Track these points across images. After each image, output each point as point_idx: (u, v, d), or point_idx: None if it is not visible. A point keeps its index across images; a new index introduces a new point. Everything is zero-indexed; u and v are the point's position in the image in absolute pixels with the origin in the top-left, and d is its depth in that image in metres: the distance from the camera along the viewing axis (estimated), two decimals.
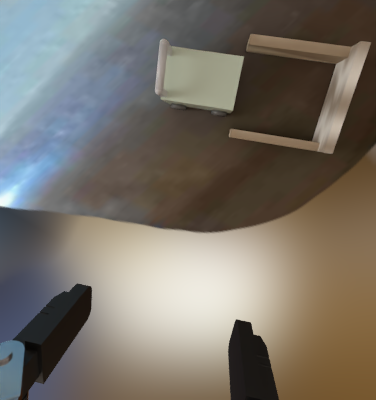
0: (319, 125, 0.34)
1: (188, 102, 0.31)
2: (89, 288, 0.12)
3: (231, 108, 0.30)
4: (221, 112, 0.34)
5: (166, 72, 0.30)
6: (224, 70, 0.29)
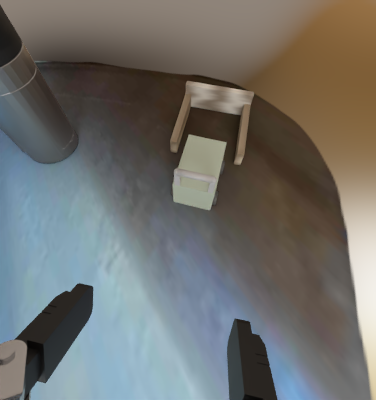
0: (230, 109, 0.47)
1: (218, 172, 0.34)
2: (90, 288, 0.12)
3: (225, 143, 0.37)
4: (222, 161, 0.39)
5: (193, 186, 0.33)
6: (196, 146, 0.37)
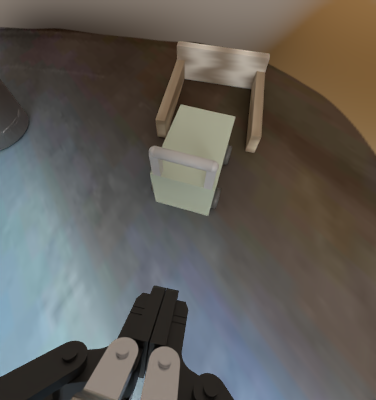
0: (237, 81, 0.36)
1: (222, 158, 0.22)
2: (165, 289, 0.13)
3: (233, 117, 0.25)
4: (229, 146, 0.28)
5: (181, 178, 0.21)
6: (190, 120, 0.25)
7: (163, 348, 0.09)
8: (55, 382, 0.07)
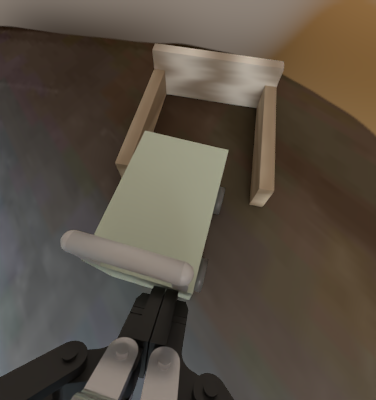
0: (237, 98, 0.26)
1: (207, 227, 0.14)
2: (165, 289, 0.13)
3: (225, 152, 0.16)
4: (220, 190, 0.19)
5: None
6: (158, 157, 0.16)
7: (163, 348, 0.09)
8: (55, 382, 0.07)
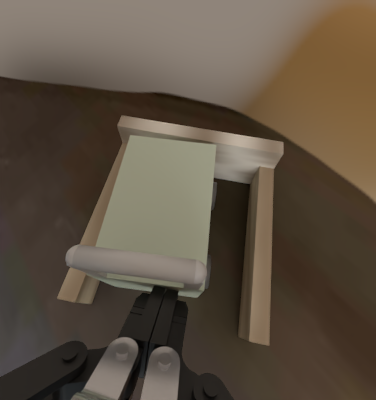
0: (226, 174, 0.21)
1: (207, 222, 0.14)
2: (165, 290, 0.13)
3: (213, 147, 0.16)
4: None
5: None
6: (148, 160, 0.16)
7: (163, 348, 0.09)
8: (55, 382, 0.07)
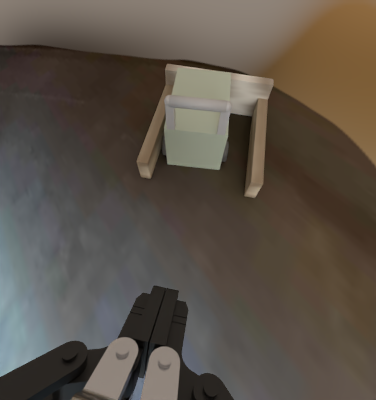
0: (235, 108, 0.31)
1: None
2: (165, 289, 0.13)
3: (229, 73, 0.27)
4: None
5: (194, 129, 0.22)
6: (190, 80, 0.26)
7: (163, 348, 0.09)
8: (55, 382, 0.07)
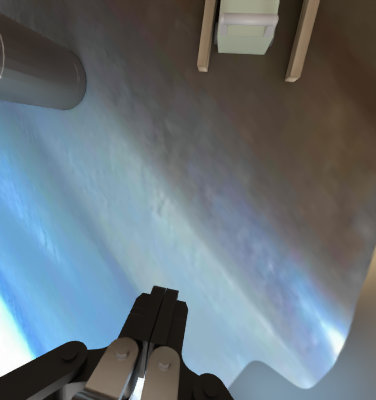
0: None
1: None
2: (165, 290, 0.13)
3: None
4: None
5: (244, 32, 0.26)
6: None
7: (163, 348, 0.09)
8: (55, 382, 0.07)
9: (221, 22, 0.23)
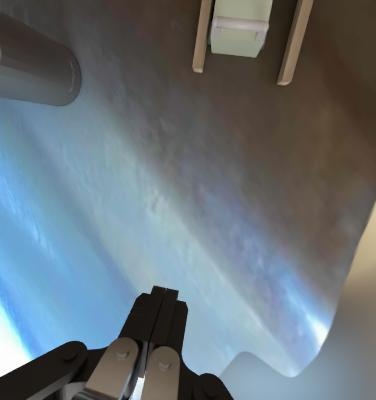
0: None
1: (270, 2, 0.25)
2: (165, 289, 0.13)
3: None
4: None
5: (236, 35, 0.27)
6: None
7: (163, 348, 0.09)
8: (55, 382, 0.07)
9: (214, 25, 0.24)
